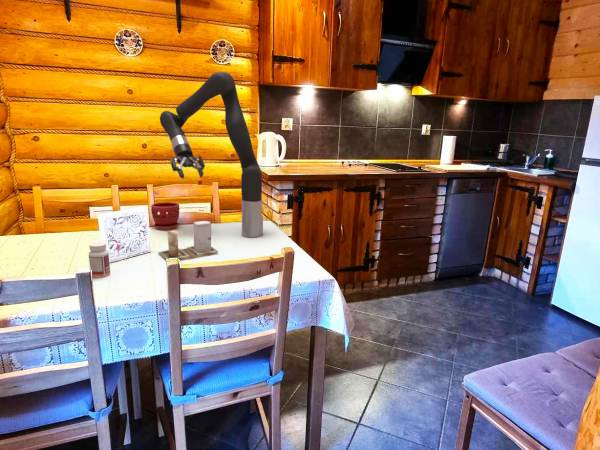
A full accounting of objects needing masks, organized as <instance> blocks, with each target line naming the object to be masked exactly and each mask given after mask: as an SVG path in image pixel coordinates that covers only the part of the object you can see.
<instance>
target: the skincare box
mask: <svg viewBox="0 0 600 450" xmlns="http://www.w3.org/2000/svg"><path fill="white" fill-rule="evenodd" d="M193 246H194V250H195V251H196V252H198V253H202V252H209V251H211V247H212V223H211V221H209V220H202V221H201V220H200V221H194V222H193Z"/></svg>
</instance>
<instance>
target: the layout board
mask: <svg viewBox="0 0 600 450" xmlns="http://www.w3.org/2000/svg"><path fill="white" fill-rule="evenodd" d="M157 255H158V256H160V257H161V258H162V259H163V260H164V261H166V259H169V258H171V257H169V249H166V250H161V251H158V252H157ZM178 255H179V256H178V257H175V258H178V259H179V260H180V261H179V262H183V261H188V260H194V259H199V258H204V257H210V256H215V255H216V256H217V255H219V250H218V249H215V247H213V246H211V251H209V252H202V253H198V252H196V251H195V250H194V245H190V246H187V247H186V248H180V247H178Z"/></svg>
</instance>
